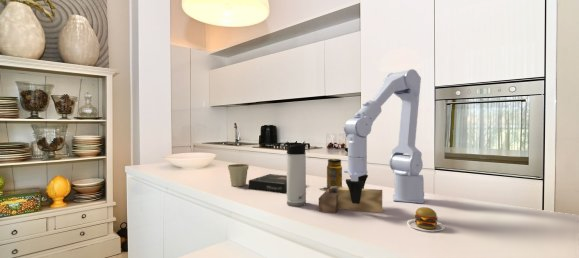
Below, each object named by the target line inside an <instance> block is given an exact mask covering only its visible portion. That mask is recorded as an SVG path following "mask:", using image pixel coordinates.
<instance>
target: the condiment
mask: <svg viewBox="0 0 579 258" xmlns="http://www.w3.org/2000/svg"><path fill="white" fill-rule="evenodd" d="M331 186H339V187H343V166H342V160H341V159H340V158H329V159H328V160H327V166H326V186H325V187H324V186H323V187H322V188H321V187H319V190H322V191H324V192H325V191H326V190H327V189H329V188H330V187H331Z"/></svg>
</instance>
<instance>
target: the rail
mask: <svg viewBox="0 0 579 258" xmlns="http://www.w3.org/2000/svg"><path fill="white" fill-rule="evenodd" d="M332 193H338V210H349V211H350V210H352V211H360V212H361V211H362V212H372V213H383V189H375V188H374V189H373V188H372V189H371V188H364V189H362V192H361V199H360V203H359V204H354V203H352V200H351V195H350V191H349V188H348V187H344V186H342V187H339V186H333V188H332Z"/></svg>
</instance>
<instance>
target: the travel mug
mask: <svg viewBox="0 0 579 258" xmlns="http://www.w3.org/2000/svg"><path fill="white" fill-rule="evenodd" d="M306 147H307V143H305V142H304V143H302V144H300V143H299V144H292V145H288V146H286V176H287V192H286V204H287V205H288V206H290V207H303V206H305V205H306V204H307V184H306V183H307V182H306V178H307V177H306V175H307V172H306V171H307V169H306V168H307V167H306V165H307V164H306Z"/></svg>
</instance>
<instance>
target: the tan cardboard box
mask: <svg viewBox="0 0 579 258" xmlns="http://www.w3.org/2000/svg"><path fill="white" fill-rule="evenodd" d="M332 188H333V186H331V187H330V188H329V189H327V190H326V191H325V190H324V192H323V193H322V194H321V195H320V196H319V197H318V212H322V213H332V214H337V213H338V210H339V209H338V193H332Z"/></svg>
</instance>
